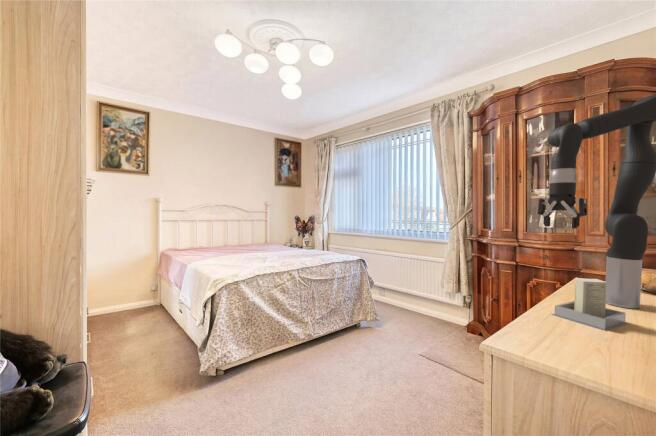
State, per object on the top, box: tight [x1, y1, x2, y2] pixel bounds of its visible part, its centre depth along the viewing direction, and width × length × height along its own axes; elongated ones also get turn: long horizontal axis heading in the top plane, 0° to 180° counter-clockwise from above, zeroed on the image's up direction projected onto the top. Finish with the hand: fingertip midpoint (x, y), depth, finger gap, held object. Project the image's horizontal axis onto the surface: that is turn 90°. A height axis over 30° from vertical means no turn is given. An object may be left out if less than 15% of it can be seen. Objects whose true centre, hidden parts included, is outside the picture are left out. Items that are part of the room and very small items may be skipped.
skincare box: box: [574, 277, 607, 318], centre depth 91 cm, size 6×4×12 cm
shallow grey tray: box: [553, 300, 627, 331], centre depth 92 cm, size 13×13×3 cm
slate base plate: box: [550, 313, 630, 332], centre depth 92 cm, size 14×14×1 cm
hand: (560, 227), depth 106 cm, fingers open, 8 cm apart
